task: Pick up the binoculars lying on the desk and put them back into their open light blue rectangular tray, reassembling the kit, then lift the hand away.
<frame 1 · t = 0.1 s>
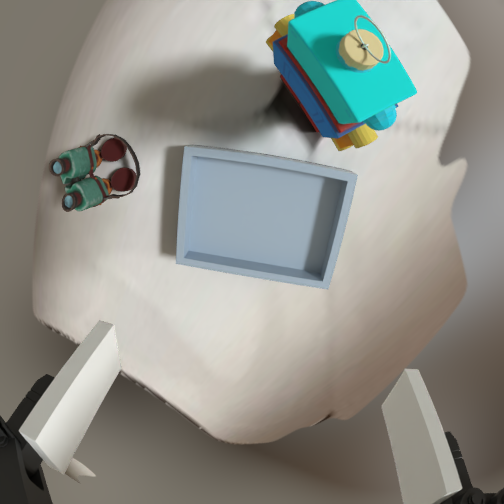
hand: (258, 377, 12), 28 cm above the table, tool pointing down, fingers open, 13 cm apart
binoculars: (117, 164, 37), on the table
toy robot: (315, 95, 32), on the table
light blue rectangular tray: (262, 212, 38), on the table
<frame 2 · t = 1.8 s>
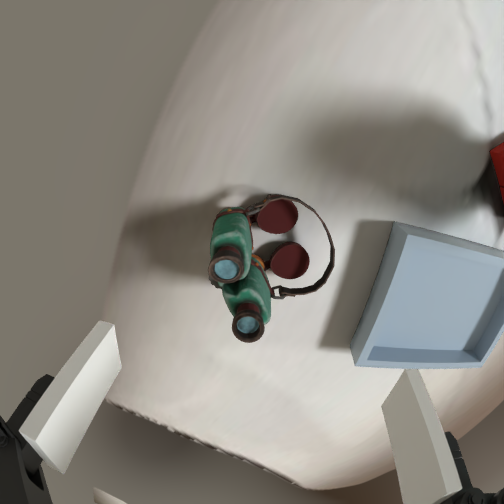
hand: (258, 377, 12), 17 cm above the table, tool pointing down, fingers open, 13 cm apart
binoculars: (273, 234, 27), on the table
light blue rectangular tray: (445, 300, 28), on the table
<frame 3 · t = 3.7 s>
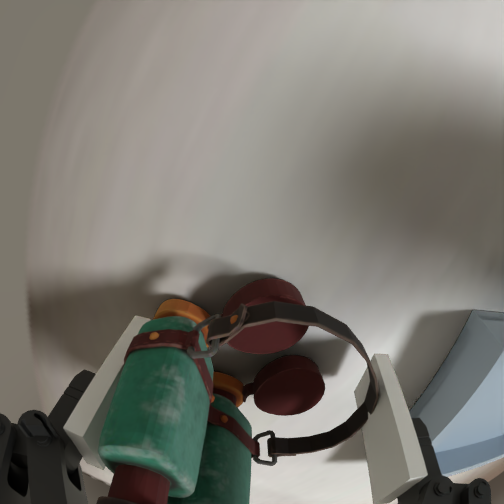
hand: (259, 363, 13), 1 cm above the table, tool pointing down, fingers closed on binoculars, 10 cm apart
binoculars: (260, 341, 14), on the table, touching gripper
light blue rectangular tray: (502, 392, 15), on the table
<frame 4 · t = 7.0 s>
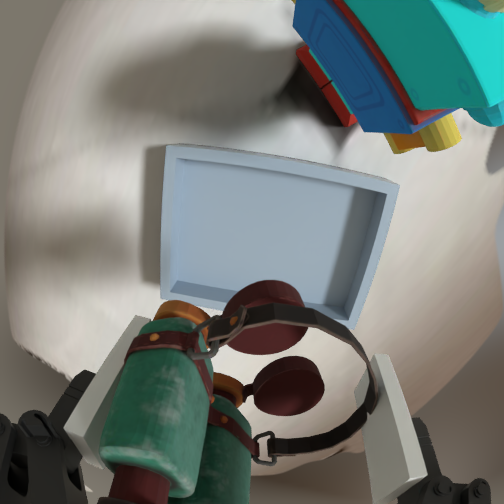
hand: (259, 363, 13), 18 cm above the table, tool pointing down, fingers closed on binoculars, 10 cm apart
binoculars: (260, 341, 14), point 16 cm above the table, touching gripper
toy robot: (341, 78, 23), on the table
light blue rectangular tray: (272, 233, 29), on the table
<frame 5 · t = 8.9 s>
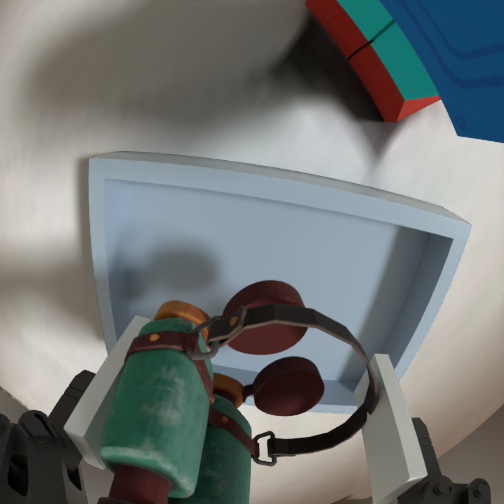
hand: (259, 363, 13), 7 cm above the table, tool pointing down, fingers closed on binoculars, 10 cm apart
binoculars: (260, 342, 14), point 5 cm above the table, touching gripper
toy robot: (379, 46, 12), on the table
light blue rectangular tray: (266, 289, 19), on the table
when the fingers open (4 cm above the table, at t = 10.4 s): binoculars drops 2 cm, resting on light blue rectangular tray.
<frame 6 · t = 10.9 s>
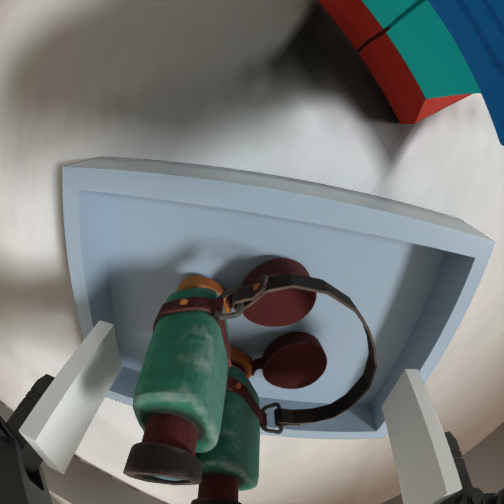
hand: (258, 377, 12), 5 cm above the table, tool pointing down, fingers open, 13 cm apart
binoculars: (270, 317, 16), point 1 cm above the table, touching light blue rectangular tray
toy robot: (392, 37, 10), on the table
light blue rectangular tray: (264, 310, 17), on the table
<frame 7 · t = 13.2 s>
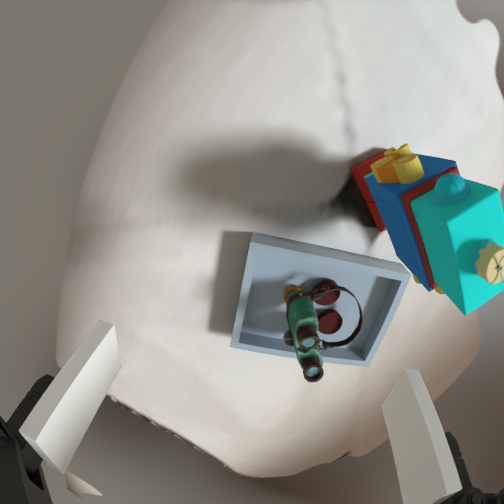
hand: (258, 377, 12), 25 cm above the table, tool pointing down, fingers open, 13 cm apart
binoculars: (319, 303, 38), point 1 cm above the table, touching light blue rectangular tray
toy robot: (380, 189, 33), on the table
light blue rectangular tray: (316, 300, 38), on the table
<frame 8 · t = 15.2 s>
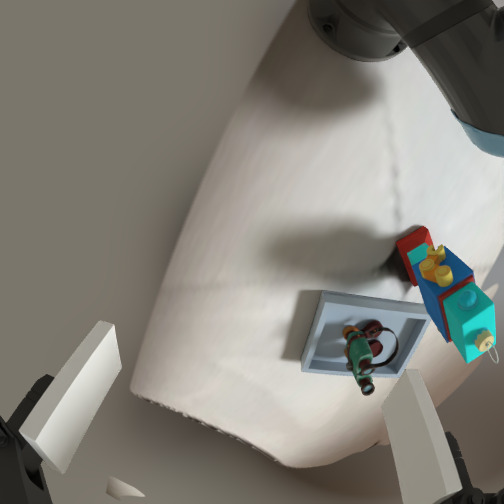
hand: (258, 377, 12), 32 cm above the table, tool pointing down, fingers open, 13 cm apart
binoculars: (367, 335, 48), point 1 cm above the table, touching light blue rectangular tray
toy robot: (415, 255, 42), on the table
light blue rectangular tray: (364, 333, 48), on the table
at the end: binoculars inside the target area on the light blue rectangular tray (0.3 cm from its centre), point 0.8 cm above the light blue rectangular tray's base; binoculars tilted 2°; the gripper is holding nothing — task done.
